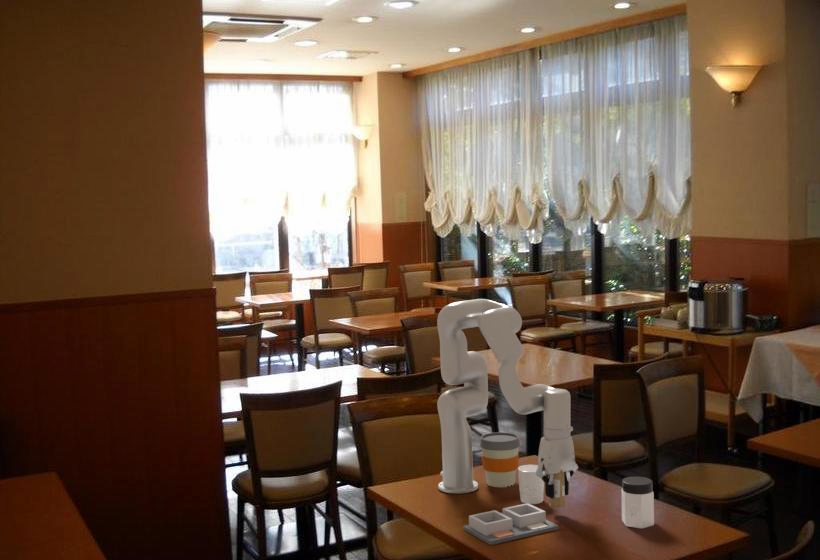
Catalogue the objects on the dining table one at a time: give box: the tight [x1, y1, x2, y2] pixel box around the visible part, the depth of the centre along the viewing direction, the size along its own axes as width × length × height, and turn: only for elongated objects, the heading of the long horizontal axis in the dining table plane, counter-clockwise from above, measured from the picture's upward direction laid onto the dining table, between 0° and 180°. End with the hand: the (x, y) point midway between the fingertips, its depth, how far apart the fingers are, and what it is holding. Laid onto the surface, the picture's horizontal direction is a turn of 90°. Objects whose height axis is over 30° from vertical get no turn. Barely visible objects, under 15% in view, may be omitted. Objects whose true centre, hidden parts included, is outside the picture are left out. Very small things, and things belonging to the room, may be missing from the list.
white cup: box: [517, 464, 545, 505], centre depth 281 cm, size 8×8×10 cm
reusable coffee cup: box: [479, 431, 521, 488], centre depth 299 cm, size 13×13×15 cm
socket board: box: [462, 503, 559, 546], centre depth 257 cm, size 14×22×4 cm, turn 118°
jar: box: [620, 476, 655, 529], centre depth 258 cm, size 9×8×12 cm
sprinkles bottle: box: [548, 467, 566, 509], centre depth 267 cm, size 5×5×13 cm
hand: (557, 494), depth 267 cm, fingers closed on sprinkles bottle, 4 cm apart
